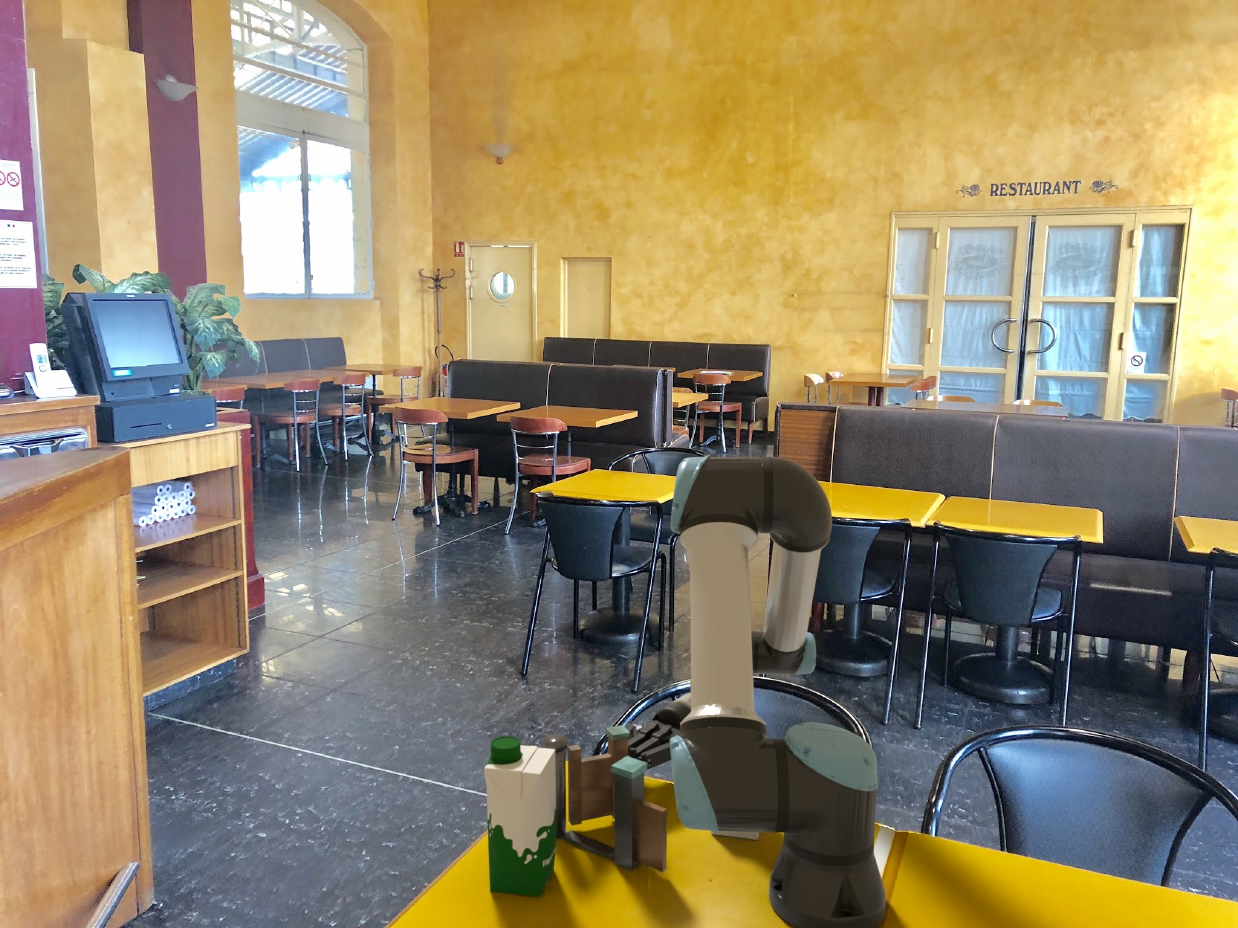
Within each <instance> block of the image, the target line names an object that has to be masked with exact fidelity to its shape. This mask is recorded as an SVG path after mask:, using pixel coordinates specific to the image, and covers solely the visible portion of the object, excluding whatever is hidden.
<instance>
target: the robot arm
mask: <svg viewBox="0 0 1238 928" xmlns="http://www.w3.org/2000/svg"><path fill="white" fill-rule="evenodd" d="M670 514H671V515H670V530H671V532H673V533H676V534H677V535H679V541H680V544H681V546H682V547H683V548H684V549H685V550H686V551H687V552H689V553H690V554H689V556H690V558H689V559H690V563H689V564H690V565H689V566H690V567H689V569H690V572H689V573H690V574H689V575H690V577H689V578H690V579H689V580H690V586H689V587H690V588H689V589H690V591H689V592H690V683H689V684H690V685H689V686H690V691H689V692H687V693H685V694H684V695H682V696H680V697H679V698H676V699H675V700H673V701H672V702H671V703H669V704H668V705H666V706H663V707H662V708H661V709H659V710H657V712H656V713H655V714H654V716H653V717H652V719H651V720H649V721H645V722H643V723H642V725H637V724H635V722H634V721H633V720H628V721H626V726H624V727H625V728H626V729H627V730H628V731H629V732H630V737H629V738H628V757H631V758H634V759H637V760H640V761H643V762H646V763H647V770H646V771H648V770H650V769H653V768H655V767H659V766H660V765H663V764H665V763H667V762H671V771H672V773H671V774H672V781H673V788H674V789H673V790H674V797H675V803H676V809H677V810H676V811H677V816H678V819H679V821H680V823H681V824H682V826H684V827H685V828H687V829H689V830H695V831H696V830H700V831H710V832H711V831H713V832H714V833H718V831H741V832H759V833H781V834H782V833H783V842H782V845H781V848H780V850H779V852H778V855H777V857H776V861H775V862H774V866H773V867H772V870H771V872H770V877H769V881H768V882H769V883H768V885H769V887H768V901H769V903H770V905H771V908H772V909H773V911H775V913H776V914H777V915H778V916H779V917H780V918H781V919H782V920H783V921H785V922H787V924H789V925H791V926H793V927H795V928H877V927H879V925H880V924H881V923H882V922H883V919H884V918H885V914H886V902H887V901H886V899H887V897H886V889H885V886H884V883H883V879H882V876H881V872H880V869H879V866H878V863H877V858H876V855H875V853H874V852H875V833H876V832H875V831H876V812H877V811H876V810H877V809H876V808H877V789H878V788H879V779H878V766H877V765H878V761H877V756H876V753H875V751H874V749H873V748H872V746H871V744H869V743H868V741H866V740H865V739H864V738H863V737H862V736H859V735H857V734H856V733H854V732H852V731H850V730H847V729H845V728H843V727H839V726H836V725H833V724H830V723H829V724H828V723H824V722H823V723H822V722H814V721H813V722H812V721H808V722H807V721H806V722H801V723H799V724H797V723H796V724H794V725H792V726H790V727H789V728H788V729H787V731H786V733H785V734H784V738H768V732H767V731H768V730H767V723H766V722H765V721H764V720H763V719H762V718H761V717H760V716H759V715H758V714H757V713H756V711H755V695H754V693H755V691H754V674H758V675H760V674H761V675H763V674H764V675H787V676H795V675H809V674H812V672H814V670H815V667H816V661H817V660H816V659H817V646H816V640H815V636H814V635H813V633H811V632H808V629H809V624H810V616H811V611H812V605H813V599H814V593H815V589H816V588H815V587H816V584H817V583H816V581H817V576H818V569H819V564H820V559H821V552H822V549H823V548H825V547H826V545H827V544H828V543H829V541H830V539H831V532H832V529H833V527H832V526H833V515H832V509H831V504H830V501H829V499H828V496H827V494H826V492H825V490H824V489H823V487H822V485H821V484H820V483H819V481H818V480H817V479H816V477H815V476H814V475H813V474H812V473H811V472H810V471H809V470H808V469H807V468H805V467H804V466H803V465H801V464H800V463H797V462H795V461H793V460H791V459H789V458H788V459H787V458H785V457H780V456H768V457H765V456H763V457H761V456H711V455H705V456H694V457H692V456H691V457H686V458H684V459H683V460H681V461H680V463H679V464H678V467H677V472H676V477H675V483H674V489H673V497H672V505H671V513H670ZM759 534H769V537H770V538H771V540H772V542H773V546H772V553H771V554H772V555H771V564H770V569H769V570H770V571H769V579H768V589H767V597H766V606H765V614H764V615H765V616H764V624H763V631H756V630H755V631H754V630H752V617H751V616H752V615H751V589H750V587H751V585H750V566H749V565H750V560H749V553H750V551H751V550H752V549H754V547H756V546H757V544H758V542H759Z"/></svg>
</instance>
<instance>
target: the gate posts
mask: <svg viewBox="0 0 1238 928" xmlns="http://www.w3.org/2000/svg"><path fill="white" fill-rule="evenodd" d="M542 740H543V741H542V743H543V744H542V746H543V747H542V748H548V749H555V774H556V840H557V839H562V841H563V842H565V843H568V844H570V845H572V846H575V847H578V848H580V849H582V850H585V851H587V852H589V853H592V854H594V855H596V856H599V857H601V858H603V859H606V860H609V861H611V862H613V861H614V865H615V866H617V867H620V868H623V869H625V870H626V871H630V872H633V871H635V870H636V869H637V868H638V867H639V866H641V865H642V866H645V867H648V868H649V869H652V870H655V871H657V872H660V873H664V872H665V871H666V870H667V849H668V845H667V843H668V841H667V839H668V838H667V837H668V834H667V833H668V826H667V825H668V809H667V807H663V806H660V805H657V804H655V803H651V802H650V801H646V800H645V772H646V771H648V770H647V763H646V762H643V761H640V760H637V759H634V758H631V757H628V756H626V757H624V758H623V759H621V760H619V761H618V762H616V763H615V764H613V765H611V772H612V773H614V846H612V845H611V844H607V843H606V842H605V843H604V842H603V841H600V840H597V839H595V838H592V837H590V836H587V835H585V834H583V833H580V832H578V831H575V830H573V829H569V830H568V831H567V780H566V779H567V774H566V773H567V769H566V767H567V765H566V764H567V762H566V761H567V760H566V755H567V754H566V751H567V750H566V749H568V746H569V745H568V737H567V736H565V735H564V734H557V733H556V734H548V735H546V736H544V737H543V739H542Z"/></svg>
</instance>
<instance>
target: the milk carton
mask: <svg viewBox="0 0 1238 928" xmlns="http://www.w3.org/2000/svg"><path fill="white" fill-rule="evenodd" d="M483 771H484V778H485V785H486V805H487V807H486V809H487V810H486V811H487V812H486V813H487V846H488V848H487V850H488V851H487V852H488V854H487V855H488V872H489V873H488V874H489V876H488V877H489V891H490V892H493V893H500V894H502V893H503V894H509V895H516V896H517V895H518V896H526V897H533V898H541V896H542V895H543V892H544V890H545V888H546V886H547V884H548V881H549V880H550V877H551V876H552V873H553V871H554V870H555V861H556V853H557V839H556V774H555V749H548V748H544V747H539V746H537V745H522V744H521V741H520V739H519V738H518V737H516V736H510V735H509V736H508V735H507V736H506V735H504V736H499V737H496V738H494V739H492V740H491V742H490V755H489V757H488V761H487V762H486V765H485V766H484V769H483Z"/></svg>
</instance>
